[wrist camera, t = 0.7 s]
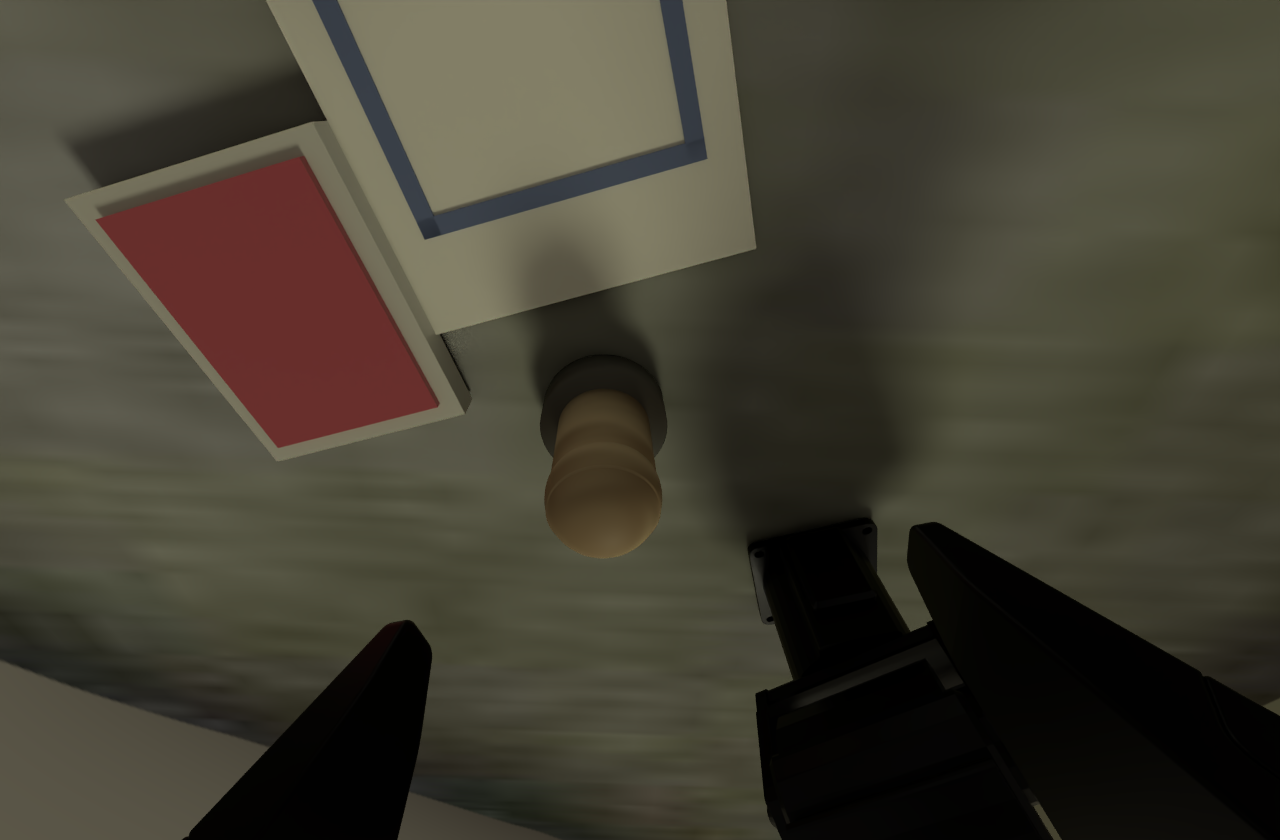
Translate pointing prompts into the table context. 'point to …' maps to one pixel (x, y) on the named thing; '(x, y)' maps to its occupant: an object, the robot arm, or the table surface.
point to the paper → (532, 140)
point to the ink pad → (281, 290)
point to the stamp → (603, 455)
